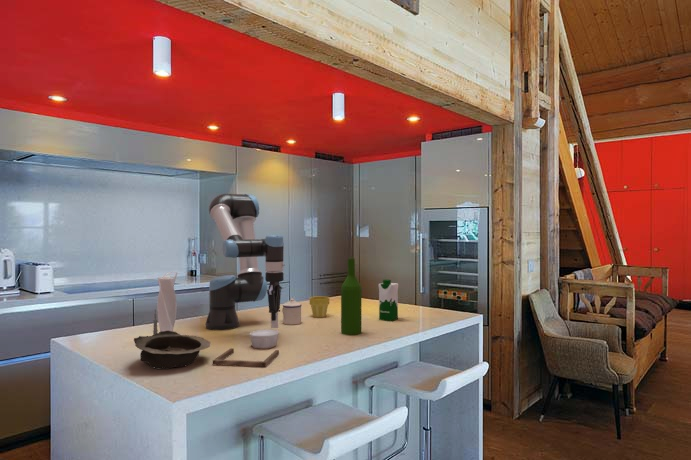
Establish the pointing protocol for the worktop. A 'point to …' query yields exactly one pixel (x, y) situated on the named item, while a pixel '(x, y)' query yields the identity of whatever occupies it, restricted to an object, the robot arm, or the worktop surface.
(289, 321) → the teacup with lid
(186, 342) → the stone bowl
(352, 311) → the wine bottle
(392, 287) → the milk carton
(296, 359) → the worktop surface
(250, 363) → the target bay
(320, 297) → the plant pot
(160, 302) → the skyscraper
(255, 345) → the ramekin
